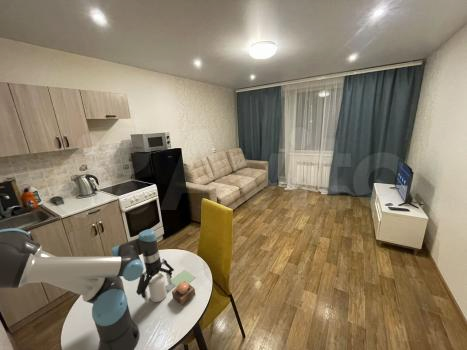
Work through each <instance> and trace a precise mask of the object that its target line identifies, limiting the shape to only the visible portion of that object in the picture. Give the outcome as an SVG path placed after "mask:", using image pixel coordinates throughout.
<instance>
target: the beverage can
mask: <svg viewBox="0 0 467 350" xmlns="http://www.w3.org/2000/svg"><path fill="white" fill-rule="evenodd" d="M166 286H167V285H166V280H165V276H164V275H163V274H162V272H159V273H158V274H156V275H155V276H153V277H152V279H151V280H150V282H149V284H148V286H147V288H148V291H149V296H150V300H151V301H152V302H154V303H157V302H161V301H162V300H164V299H165V298H166V296H167V294H168V293H167V292H168V291H167V290H166Z"/></svg>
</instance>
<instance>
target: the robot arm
mask: <svg viewBox="0 0 467 350" xmlns="http://www.w3.org/2000/svg"><path fill="white" fill-rule="evenodd" d="M157 239H158V238H157V235H156V232H155V230H153V229H151V228H150V229H149V228H148V229H145V230H142V231H140V232H139V234H138V237H137V238H134V239H132V240H129V241H126V242H124V243H121V244H119V245H115V246H114V247H112V248H111V250H110V251H111V256H110V255H109V256H107V255H106V256H103V255H102V256H101V255H98V256H95V255H94V256H56V255H54V254H51V253H50V252H46V251H44V250H43V246H42V244H41V243H39V242H37V241H34V240H32V237H31V236H30V234H29V233H28V232H27V231H25V230H23V229H20V228H15V227H14V228H13V227H11V228H4V229H0V290H4V289H5V290H7V289H17V288H21V287H23V286H25V285H26V284H35V283H36V284H37V283H45V284H49V285H52V286H55V287H58V288H60V289H62V290H67V291H69V292H72V293H74V294H77V295H79V296H82V300H83V302H86V303H89V304H91V305H92V308H91V317H92V320H93V322H94V324H95V328H96V331H97V333H98V338H99V343H98V350H135V348H136V347H137V345H138V343H139V340H140V336H141V335H140V334H141V333H140V329H139V326H138V325H137V324H136V322H135V321H133V319H132V317H131V312H130V307H129V304H128V298H127V295H126V292H125V287H124V283H123V280H122V278H121V277H123V279H124V280H126V281H128V282H134V281H136V280H138V279H139V281H138V284H137V288H136V292H135V293H136V294H137V295H138V296H140V295H141V298H142V299H144V301H145V302H146V303H147V304H148V303H149V296H148V293H147V288H148V284H149V282H150V280H151V279H152V277H153V276H155V275H156V274H158V273H165V276H166V279H167V285H168V284H170V285H171V284H173V283H171V279H173V278H172V274H173V272H174V270H175V269H174V268H173V267H172V266H171V265H170V264H169V263H168V261H167V260H166V259H165V258H163V259H162V260H161V256H160V249H159V245H158V240H157ZM140 255H142V258H143V261H142V260H141V258H140ZM143 262H144V264H143ZM163 265H164V266H166V267H167V268H168V269H167V268H163V267H162V266H163ZM144 268H145V271H144Z"/></svg>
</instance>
